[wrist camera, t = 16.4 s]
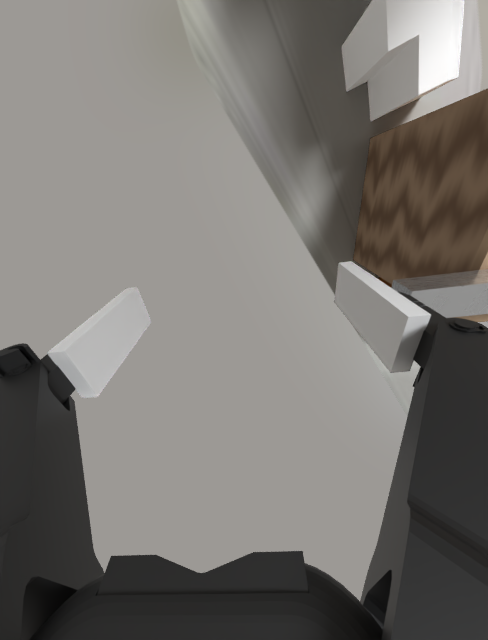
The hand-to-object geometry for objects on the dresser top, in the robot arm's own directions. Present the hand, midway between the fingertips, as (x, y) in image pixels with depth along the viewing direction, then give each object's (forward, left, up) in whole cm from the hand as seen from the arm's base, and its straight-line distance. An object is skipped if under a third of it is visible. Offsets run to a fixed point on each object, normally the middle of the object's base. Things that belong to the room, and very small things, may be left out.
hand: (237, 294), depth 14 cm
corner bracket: (-19, +25, -37) cm, 49 cm away
